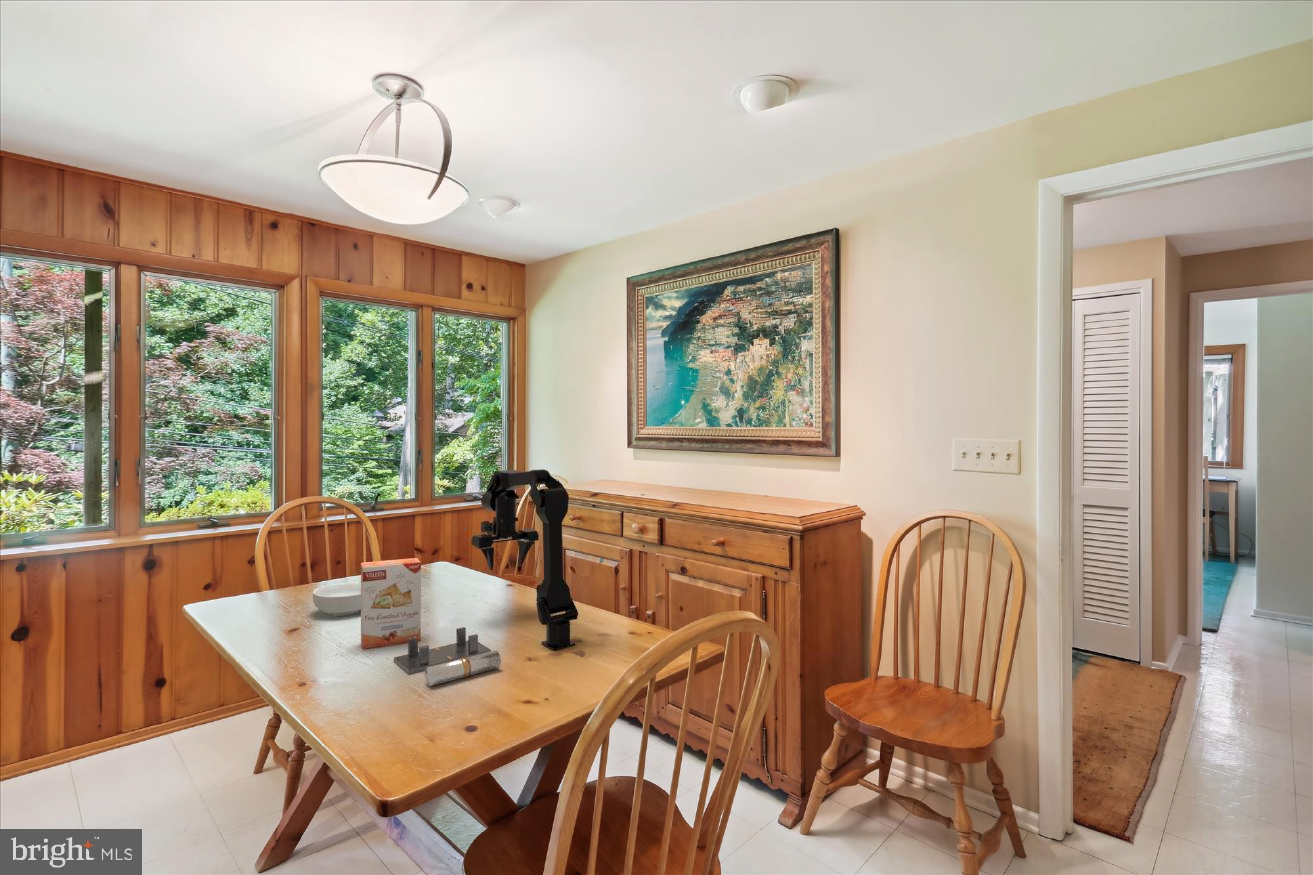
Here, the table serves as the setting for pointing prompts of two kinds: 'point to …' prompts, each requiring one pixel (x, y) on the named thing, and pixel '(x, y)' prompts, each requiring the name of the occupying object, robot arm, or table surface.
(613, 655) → the table surface
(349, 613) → the cereal bowl
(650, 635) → the table surface
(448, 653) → the stand
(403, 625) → the cracker box
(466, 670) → the tube
